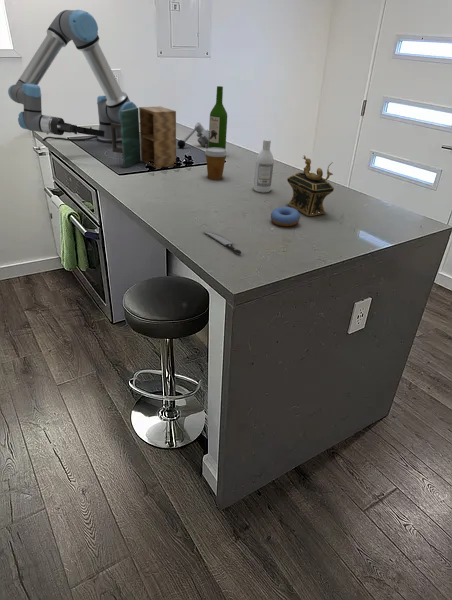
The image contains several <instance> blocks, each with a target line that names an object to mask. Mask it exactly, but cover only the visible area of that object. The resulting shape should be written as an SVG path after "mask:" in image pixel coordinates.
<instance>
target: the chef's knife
mask: <svg viewBox="0 0 452 600" xmlns="http://www.w3.org/2000/svg"><path fill="white" fill-rule="evenodd" d="M204 233H205V234H206V235H207V236H209V237H210V238H212V239H213V240H215V241H217V242H219V243H220V244H222V245H223V246H225V247H226V248H228V249H230V250H232V252H235V253H236V254H239V255H241V253H242V251H241V250H240V249H237V248H235V247H234V246H232V245H233V244H234V243H233V242H231V241H230V240H227V239H226V238H225V237H223V236H220V235H217V234H215V233H212V232H207V231H204Z"/></svg>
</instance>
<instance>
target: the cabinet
mask: <svg viewBox="0 0 452 600" xmlns="http://www.w3.org/2000/svg"><path fill="white" fill-rule="evenodd" d="M138 112H139V134H140V156H141V161H140V162H141V163H144V164H146V165H148V166H150V167H153V168H154V169H160V168H169V167H176V166H177V111H176V110H174V109H170V108H168V107H164V106H161V105H159V106H139V107H138ZM149 161H153V162H154V163H149ZM174 163H176V164H174ZM152 164H153V165H152ZM154 165H155V166H154Z"/></svg>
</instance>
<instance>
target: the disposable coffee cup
mask: <svg viewBox="0 0 452 600" xmlns="http://www.w3.org/2000/svg"><path fill="white" fill-rule="evenodd" d="M204 154H205V159H206V171H207V178H208V179H210V180H216V181H219V180H221V179H223V175H224V169H225V163H226V158H227V155H228V152H227V149H223V148H217V147H211V148H209V147H207V148H206V149H205V151H204Z"/></svg>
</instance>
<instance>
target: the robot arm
mask: <svg viewBox="0 0 452 600" xmlns="http://www.w3.org/2000/svg"><path fill="white" fill-rule="evenodd" d="M98 26H99V25H98V23H97V21H96V19H95V17H94V16H93V15H92V14H91V13H90V12H88V11H86V10H83V9H65V10H61V11H60V12H59V13H58V14H57V15H55V17H54V18H53V20H52V21H51V23H50V25H49V26H48V28H47V29H46V36H45V38H44V39H43V40H42V42H41V44H40V45H39V47H38V49H37V50H36V52H35V53H34V54H33V57H31V59H30V61H29V63H28V64H27V66H26V67H25V69H24V70H23V72H22V74H21V75H20V76H19V78H18V79H17V81H16V82H15V84H12V85H10V86H9V87H8V91H7V95H8V96H9V98H10V99H11V100H12V101H13V102H15V103H17V104H20V105H23V106H22V107H23V111H20V112H19V113H18V117H17V121H18V125H19V127H20V128H22V129H23V130H27V131H31V132H37V133H38V132H39V133H45V134H46V135H49V134H50V135H54V136H45V137H44V138H43V139H42V142H45V141H46V140H48V139H51V140H62V141H63V140H64V141H68V142H69V141H70V142H71V141H72V142H77V141H78V142H80V141H89V140H93V139H97V141H98V142H101V143H108V144H110V143H111V144H112V134H111V123H116V124H121V121H120V111H123V110H128V109H132V108H138V106H137V105H136V103H134V102H133V101H131V100H130V97H129V95H128V94H127V92H125V91H123V90H122V88H121V86H120V85H119V83H118V80H117V79H116V75H115V74H114V72H113V70H112V69H111V68H112V67H111V66H110V64H109V62H108V59H107V58H106V56H105V54H104V52H103V49H102V47H101V46H100V44H99V43H100V36H99V32H98V30H99V27H98ZM71 41H72V43H73V45H74V47H75V48H76V50H77V51H79V52H82V54H83V56H84V59H85V60H86V61H87V64H88V65H89V68H90V69H91V71H92V73H93V76H94V77H95V79H96V81H97V83H98V85H99V87H100V89H101V91H102V93H103V95H98V96H97V97H96V104H97V114H98V124H99V125H98V129H95V128H93V127H91V126H90V127H85V126H78V125H76V124H72V123H69V122H65V120H64V119H63V117H57V116H53V115H46V114H43V112H42V111H43V110H42V90H41V87H40V85H39V84H40V83H41V81H42V79H43V78H44V76H45V75H46V73H47V71H48V70H49V68H50V67H51V65H52V64H53V62H54V60H55V59H56V58H57V56H58V54H59V53H60V52H61V49H62V48H66V47H67V45H68V44H69V43H70V42H71ZM115 131H116V143H122V136H121V129H115ZM64 133H69V134H72V133H74V135H78V134H82V135H87V136H90V137H86V138H66V137H61V136H63V135H64ZM55 135H56V136H58V137H55ZM59 136H60V137H59ZM49 215H50V219H53V213H51V212H50V213H49Z"/></svg>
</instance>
